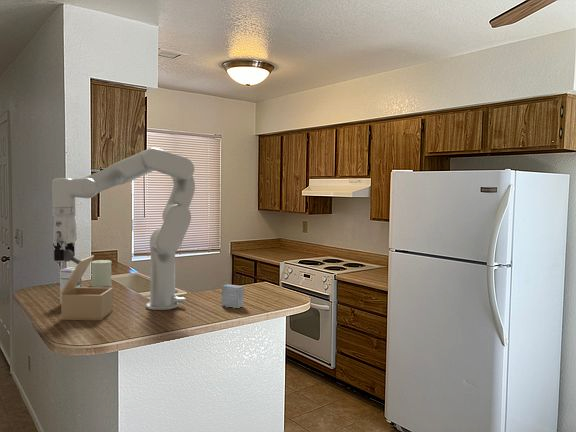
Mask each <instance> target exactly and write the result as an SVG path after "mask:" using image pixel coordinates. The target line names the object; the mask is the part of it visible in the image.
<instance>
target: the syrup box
mask: <svg viewBox="0 0 576 432" xmlns="http://www.w3.org/2000/svg"><path fill="white" fill-rule="evenodd" d="M76 267H77V266H72V267H66V268H61V269H59V289H60V293H61V291H62V289H63V288H64V286H65V285H66V283H67V281H68V280H69V278H70V276H71V275H72V273H73V271H74V270H75V268H76ZM76 287H82V278H81V279H80V280H79V282H78V284H77V285H76ZM69 291H70V290H69ZM67 292H68V291H67ZM60 293H59V295H60V298H59V299H60V302H59V303H60V304H61V294H60ZM65 293H66V292H65Z"/></svg>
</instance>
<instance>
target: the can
mask: <svg viewBox="0 0 576 432" xmlns="http://www.w3.org/2000/svg"><path fill="white" fill-rule="evenodd" d="M90 265H91V282H90V283H91V285H90V286H91V288H109V287H111V286H112V285H113V284H112V260H109V259H107V260H106V259H105V260H104V259H99V260H92V261H91V262H90Z"/></svg>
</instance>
